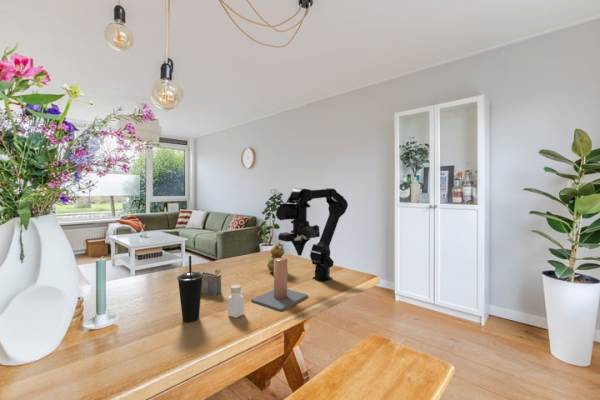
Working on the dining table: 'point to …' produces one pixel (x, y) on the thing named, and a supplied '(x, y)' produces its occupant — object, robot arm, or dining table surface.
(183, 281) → the drinking cup
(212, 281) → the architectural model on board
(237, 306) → the pepper shaker
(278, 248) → the decorative figurine
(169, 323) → the dining table surface
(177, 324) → the dining table surface
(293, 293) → the rubber mat
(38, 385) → the dining table surface
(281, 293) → the wooden peg
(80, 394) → the dining table surface
